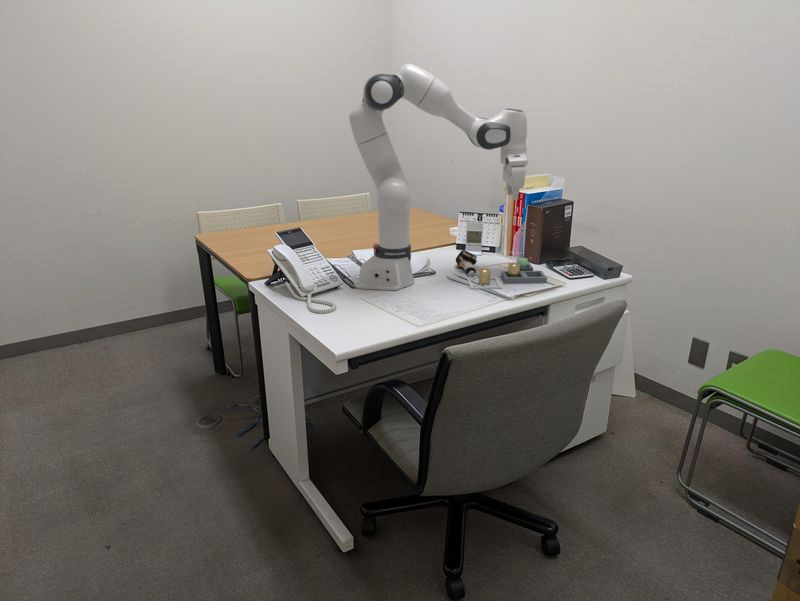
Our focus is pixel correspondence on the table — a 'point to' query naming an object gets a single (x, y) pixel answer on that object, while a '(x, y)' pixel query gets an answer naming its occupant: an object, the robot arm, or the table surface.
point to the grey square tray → (485, 287)
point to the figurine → (467, 262)
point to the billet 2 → (513, 269)
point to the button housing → (529, 268)
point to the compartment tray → (524, 278)
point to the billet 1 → (484, 276)
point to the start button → (522, 262)
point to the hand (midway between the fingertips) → (512, 197)
